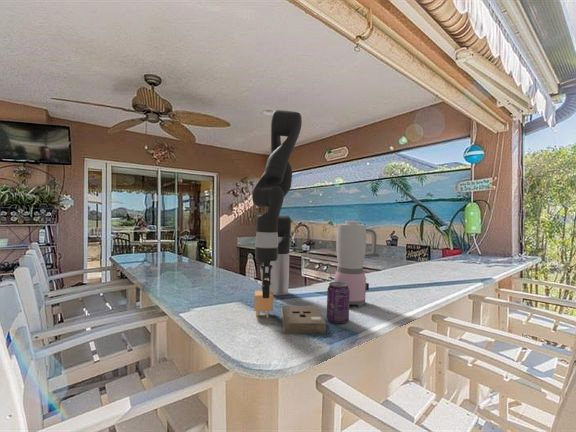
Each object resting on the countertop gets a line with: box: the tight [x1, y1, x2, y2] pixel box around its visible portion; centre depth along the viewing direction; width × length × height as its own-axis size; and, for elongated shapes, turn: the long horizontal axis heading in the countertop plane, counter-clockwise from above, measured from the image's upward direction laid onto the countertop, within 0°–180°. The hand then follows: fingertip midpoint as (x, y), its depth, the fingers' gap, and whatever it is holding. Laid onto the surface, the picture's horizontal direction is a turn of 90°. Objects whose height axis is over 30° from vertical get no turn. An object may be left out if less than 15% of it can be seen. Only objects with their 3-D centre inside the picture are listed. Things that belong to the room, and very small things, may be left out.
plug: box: [254, 290, 274, 319], centre depth 100 cm, size 6×6×8 cm
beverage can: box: [326, 281, 350, 324], centre depth 97 cm, size 7×7×12 cm
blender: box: [333, 220, 377, 308], centre depth 117 cm, size 16×12×32 cm
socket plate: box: [280, 305, 327, 335], centre depth 94 cm, size 16×12×4 cm
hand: (265, 294), depth 99 cm, fingers open, 8 cm apart
